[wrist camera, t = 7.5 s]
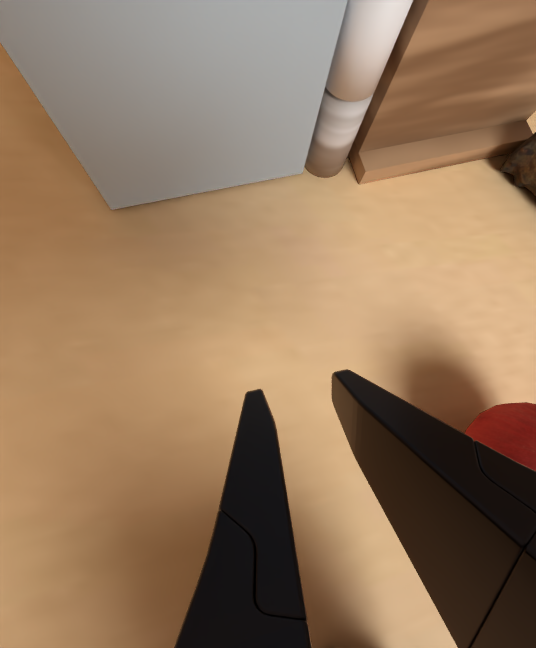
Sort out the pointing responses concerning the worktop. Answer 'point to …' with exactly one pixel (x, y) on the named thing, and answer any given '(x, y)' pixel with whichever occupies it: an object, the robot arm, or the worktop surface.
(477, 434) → the onion
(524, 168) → the hand tool
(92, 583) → the worktop surface
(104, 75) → the hinged leaf
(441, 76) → the hinge frame
